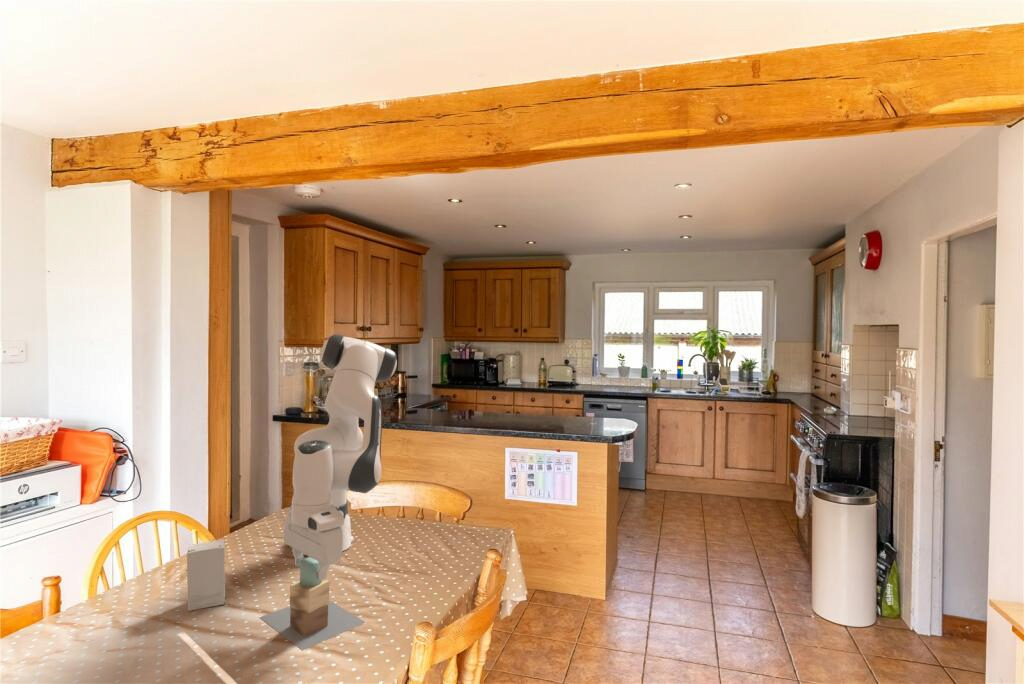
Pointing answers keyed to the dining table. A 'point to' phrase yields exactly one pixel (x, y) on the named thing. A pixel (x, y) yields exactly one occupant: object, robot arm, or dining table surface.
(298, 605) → the top block
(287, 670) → the dining table surface
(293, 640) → the board
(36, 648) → the dining table surface
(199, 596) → the skincare box
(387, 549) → the dining table surface
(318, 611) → the bottom block
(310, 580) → the mint green cylinder
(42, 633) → the dining table surface
